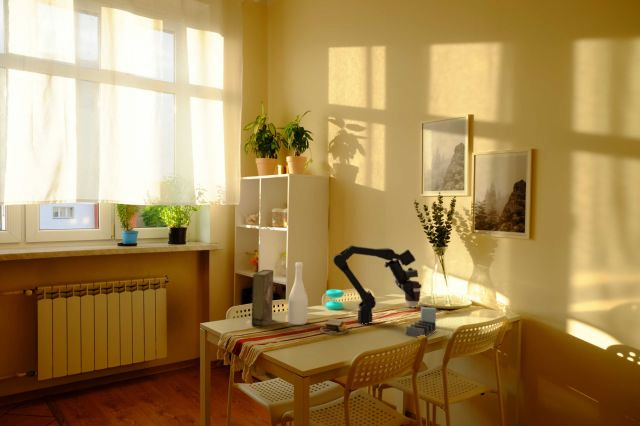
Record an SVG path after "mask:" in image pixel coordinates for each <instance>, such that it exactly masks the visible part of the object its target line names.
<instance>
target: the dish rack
mask: <svg viewBox="0 0 640 426" xmlns="http://www.w3.org/2000/svg"><path fill="white" fill-rule="evenodd" d="M436 324H437V323H434V322H428V321H422V320H421V319H419V320H418V321H417V322H416V321H414V324H413V323H411V324H410V326H408V325H407V326H406V327H405V329H406V331H405V333H404V335H405V336H407V337H408V336H409V337H414V338H418V337H417V336H420V335H425V336H427V337H429V336H430V335H432V334H433V332H434V331H435V330H436V331H437V328H436V327H437V325H436ZM436 331H435V332H436ZM435 332H434V333H435ZM431 333H432V334H431ZM429 334H430V335H429ZM428 335H429V336H428Z"/></svg>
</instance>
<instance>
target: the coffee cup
mask: <svg viewBox="0 0 640 426" xmlns="http://www.w3.org/2000/svg"><path fill="white" fill-rule="evenodd" d="M412 281H413V282H414V284H415V287H414V289H413V290H414V294H415V298H416V299H415V300H413V299H412V298H411V297H410V296H409V295H407V294H406V293H405V292H404V300H405V306H406V305H409V306H416V305H418V302H419V303H420V298H421V288H422V284H421V283H420V282H419V281H417V280H412Z"/></svg>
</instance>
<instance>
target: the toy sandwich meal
mask: <svg viewBox="0 0 640 426" xmlns="http://www.w3.org/2000/svg"><path fill="white" fill-rule="evenodd" d="M326 321H327V322H326V323H325V326H322V327H319V330H320V331H321V333H323V334H325V333H326V335H330V334H332V335H331V336H333V335H335V336H338V335H344V334H345V333H347V332H348V329H347V328H346V326H347V323H344V320H343V319H338V318H328V319H327V320H326Z"/></svg>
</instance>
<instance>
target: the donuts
mask: <svg viewBox="0 0 640 426" xmlns="http://www.w3.org/2000/svg"><path fill="white" fill-rule="evenodd" d="M325 294H326V296H327V297H329V298H330V299H331V298H332V299H333V298H334V299H339V298H342V297H343V296H344V294H345V293H344V291H343V290H341V289H328V290H326V292H325ZM325 308H326V309H328V310H334V311H337V310H338V311H339V310H342V309H343V308H344V304H343V302H341V301H337V300H330V301H328V302H326V304H325Z"/></svg>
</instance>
